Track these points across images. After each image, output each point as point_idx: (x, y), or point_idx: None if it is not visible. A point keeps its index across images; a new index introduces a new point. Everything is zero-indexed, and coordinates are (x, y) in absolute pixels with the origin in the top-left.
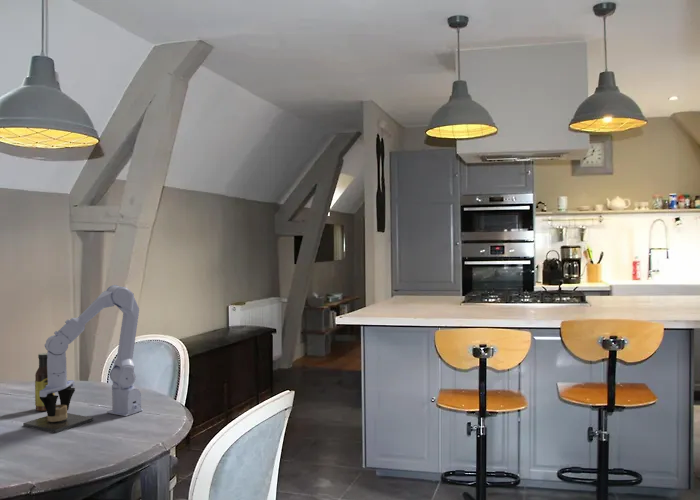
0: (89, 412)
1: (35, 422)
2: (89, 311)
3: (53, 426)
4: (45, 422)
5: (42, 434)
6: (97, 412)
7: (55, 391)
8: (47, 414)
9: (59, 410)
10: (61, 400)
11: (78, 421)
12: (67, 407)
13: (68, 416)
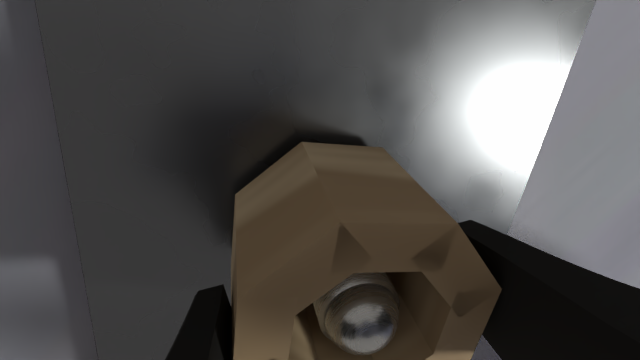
0: (627, 184)
1: (150, 57)
2: None
3: (161, 347)
4: (213, 177)
5: (19, 356)
6: (622, 236)
7: None
8: (235, 241)
9: None
10: (554, 315)
11: None
12: None
13: (453, 209)
